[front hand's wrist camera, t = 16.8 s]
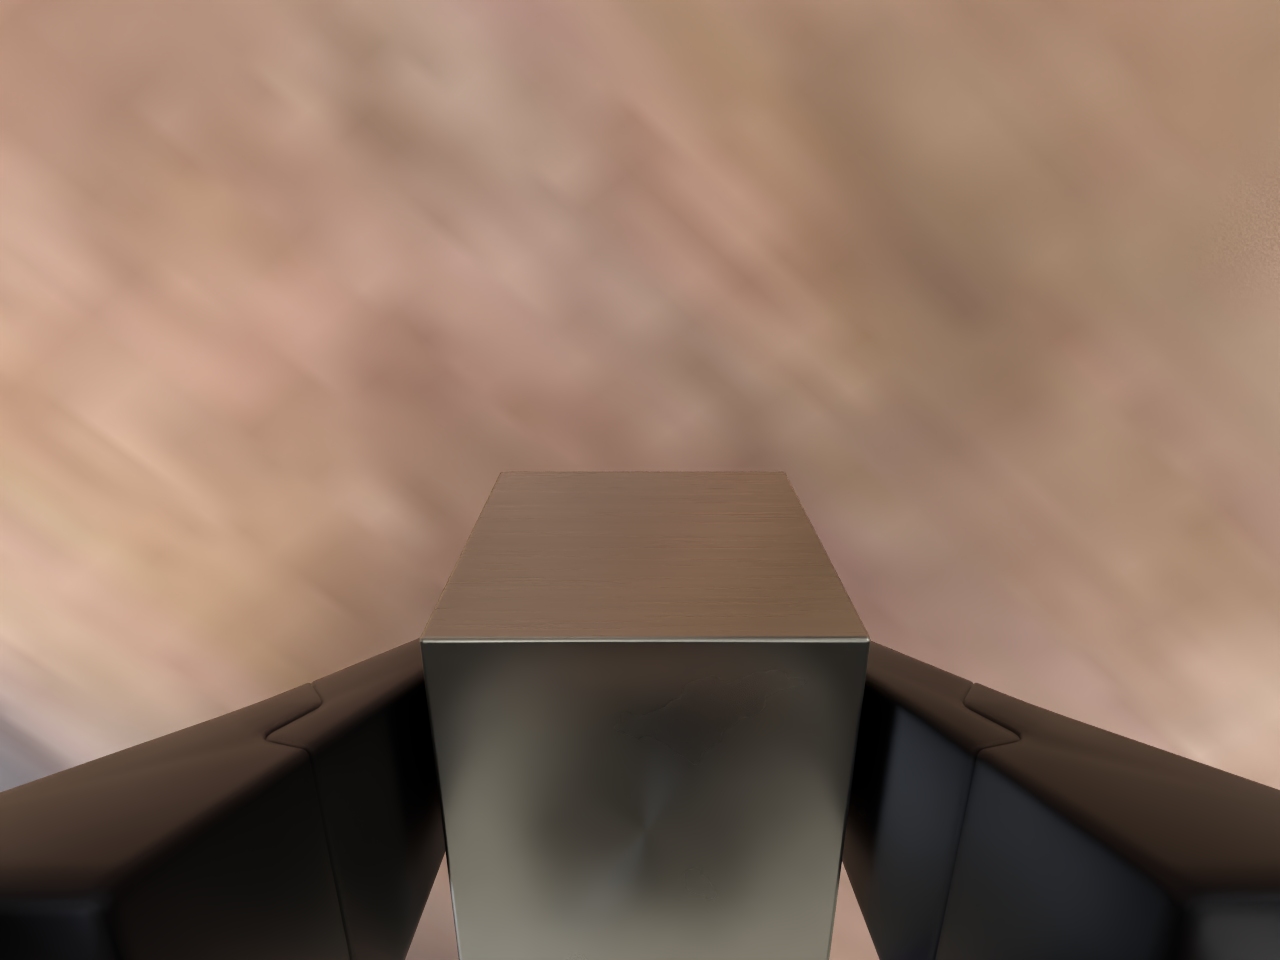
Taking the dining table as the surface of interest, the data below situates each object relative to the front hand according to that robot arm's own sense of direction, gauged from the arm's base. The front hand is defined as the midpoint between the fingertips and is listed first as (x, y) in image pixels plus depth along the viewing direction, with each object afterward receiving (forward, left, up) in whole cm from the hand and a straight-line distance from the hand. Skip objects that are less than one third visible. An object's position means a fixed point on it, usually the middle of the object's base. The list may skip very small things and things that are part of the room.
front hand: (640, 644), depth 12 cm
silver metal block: (0, 0, -1) cm, 1 cm away
